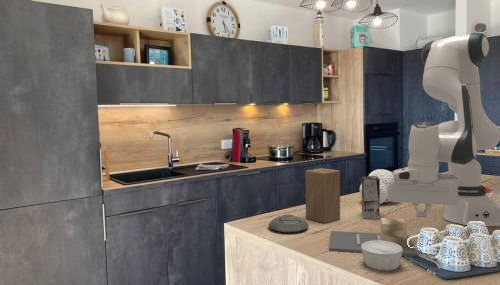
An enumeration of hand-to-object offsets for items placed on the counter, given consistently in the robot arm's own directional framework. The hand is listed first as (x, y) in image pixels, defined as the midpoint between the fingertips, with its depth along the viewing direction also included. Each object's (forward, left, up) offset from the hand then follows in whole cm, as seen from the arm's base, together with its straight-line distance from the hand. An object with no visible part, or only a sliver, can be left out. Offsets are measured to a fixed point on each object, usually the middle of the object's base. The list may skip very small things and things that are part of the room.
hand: (421, 217), depth 121 cm
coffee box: (+13, -35, -10) cm, 39 cm away
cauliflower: (+7, -59, -10) cm, 61 cm away
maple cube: (+8, 0, -9) cm, 12 cm away
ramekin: (+13, +17, -10) cm, 24 cm away
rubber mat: (+15, 0, -10) cm, 18 cm away
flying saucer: (+44, -12, -10) cm, 47 cm away
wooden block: (+32, -27, -10) cm, 44 cm away
